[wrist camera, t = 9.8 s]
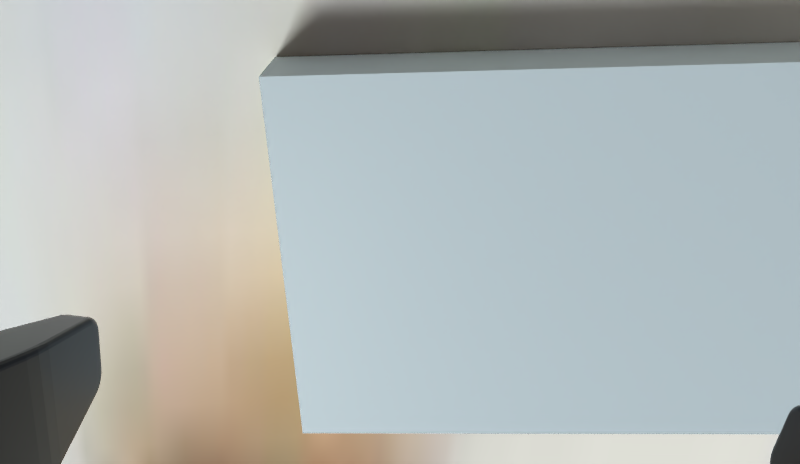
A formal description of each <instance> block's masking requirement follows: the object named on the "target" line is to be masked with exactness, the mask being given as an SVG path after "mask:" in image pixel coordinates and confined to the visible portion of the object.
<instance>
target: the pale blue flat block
mask: <svg viewBox="0 0 800 464" xmlns="http://www.w3.org/2000/svg"><path fill="white" fill-rule="evenodd" d="M259 81H260V89H261V97H262V106H263V114H264V122H265V130H266V138H267V146H268V154H269V162H270V170H271V178H272V187H273V195H274V203H275V211H276V219H277V227H278V235H279V243H280V251H281V260H282V268H283V276H284V284H285V292H286V300H287V308H288V316H289V324H290V332H291V341H292V349H293V357H294V365H295V373H296V381H297V389H298V397H299V405H300V414H301V422H302V430H303V433H481V434H780V432H781V430H782V428H783V425H784V423H785V421H786V418H787V416H788V414H789V412H790V411H791V410H792V409H793V408H794V407H796V406H798V405H800V42H782V43H748V44H713V45H678V46H643V47H608V48H573V49H538V50H504V51H469V52H434V53H399V54H364V55H329V56H294V57H275V58H274V59H273V60H272V62H271V63H270V64H269V65H268V66H267V68H266V69H265V70H264V71H263V72H262V74H261V75H260V76H259Z"/></svg>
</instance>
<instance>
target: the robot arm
mask: <svg viewBox="0 0 800 464" xmlns="http://www.w3.org/2000/svg"><path fill="white" fill-rule="evenodd" d="M100 380H101V358H100V345H99V332H98V326H97V323H96V322H95V320H94V319H92V318H89V317H82V316H74V315H60V316H56V317H52V318H48V319H44V320H40V321H37V322H33V323H29V324H25V325H21V326H17V327H13V328H9V329H6V330H2V331H0V464H61V462H62V460H63V458H64V456H65V454H66V452H67V450H68V448H69V446H70V444H71V442H72V440H73V438H74V436H75V434H76V432H77V431H78V429H79V427H80V425H81V423H82V421H83V419H84V417H85V415H86V413H87V411H88V409H89V407H90V405H91V403H92V401H93V399H94V397H95V395H96V393H97V391H98V388H99V384H100ZM770 464H800V405H798V406H796V407H794V408H793V409H792V410H791V411H790V412H789V414H788V416H787V418H786V421H785V423H784V425H783V428H782V430H781V432H780V435H779V437H778V439H777V441H776V444H775V446H774V448H773V451H772V454H771V459H770Z"/></svg>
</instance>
